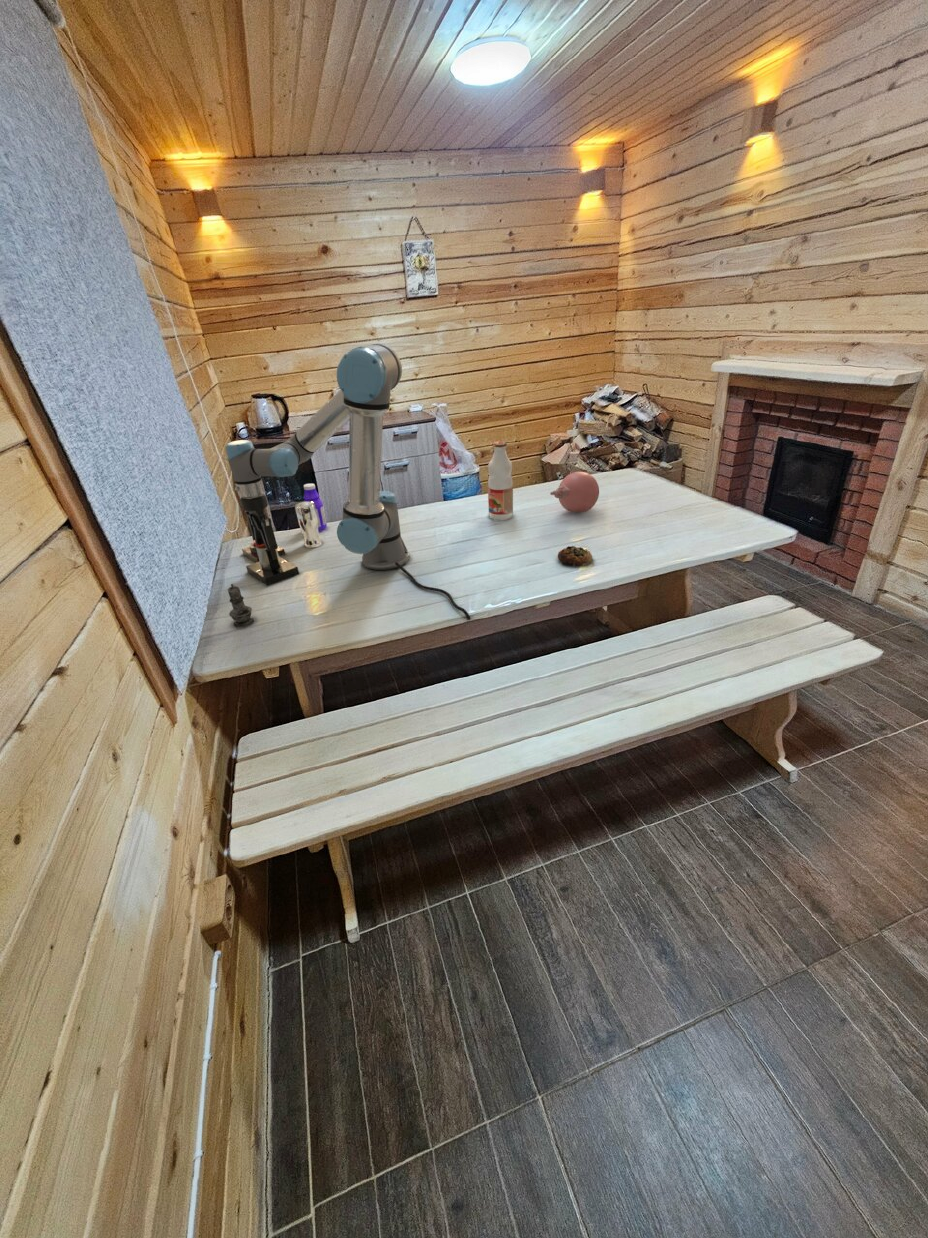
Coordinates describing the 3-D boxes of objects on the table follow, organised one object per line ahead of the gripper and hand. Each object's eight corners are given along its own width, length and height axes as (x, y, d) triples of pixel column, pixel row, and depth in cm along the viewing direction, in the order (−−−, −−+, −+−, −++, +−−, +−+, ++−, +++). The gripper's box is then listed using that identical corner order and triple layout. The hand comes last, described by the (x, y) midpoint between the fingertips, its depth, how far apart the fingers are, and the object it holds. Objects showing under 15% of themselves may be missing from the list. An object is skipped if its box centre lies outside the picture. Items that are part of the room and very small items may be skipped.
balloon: (539, 510, 205) (540, 472, 197) (584, 502, 210) (586, 464, 202) (558, 523, 193) (560, 482, 185) (605, 514, 198) (609, 474, 190)
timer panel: (299, 573, 167) (297, 566, 166) (267, 585, 161) (265, 578, 160) (278, 561, 176) (277, 554, 175) (247, 572, 170) (245, 565, 168)
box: (285, 554, 181) (282, 543, 179) (258, 563, 176) (255, 552, 173) (269, 545, 189) (267, 535, 187) (243, 554, 183) (240, 543, 181)
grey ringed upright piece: (236, 617, 145) (223, 579, 139) (257, 616, 145) (246, 577, 139) (230, 629, 140) (216, 590, 134) (252, 627, 140) (239, 588, 134)
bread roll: (553, 564, 163) (555, 549, 161) (560, 555, 172) (562, 540, 170) (589, 570, 159) (592, 554, 157) (594, 559, 169) (596, 544, 167)
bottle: (330, 527, 201) (321, 482, 192) (322, 532, 197) (313, 487, 188) (314, 525, 204) (304, 482, 195) (305, 531, 199) (296, 486, 190)
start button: (271, 544, 180) (270, 539, 179) (258, 548, 177) (256, 543, 176) (265, 540, 183) (263, 535, 182) (251, 545, 180) (250, 540, 179)
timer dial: (276, 560, 171) (270, 538, 167) (283, 566, 167) (278, 543, 163) (258, 566, 168) (252, 543, 164) (265, 572, 164) (259, 549, 160)
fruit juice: (515, 519, 199) (515, 444, 184) (491, 522, 198) (489, 446, 183) (509, 511, 207) (509, 438, 192) (486, 513, 206) (484, 440, 191)
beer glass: (318, 548, 184) (309, 508, 176) (300, 548, 185) (290, 507, 177) (326, 540, 190) (318, 501, 182) (308, 540, 191) (299, 500, 183)
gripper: (227, 491, 159) (247, 560, 171) (252, 505, 147) (272, 578, 159) (251, 485, 163) (269, 553, 175) (277, 498, 151) (295, 570, 163)
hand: (270, 565), depth 167 cm, fingers closed on timer dial, 6 cm apart
